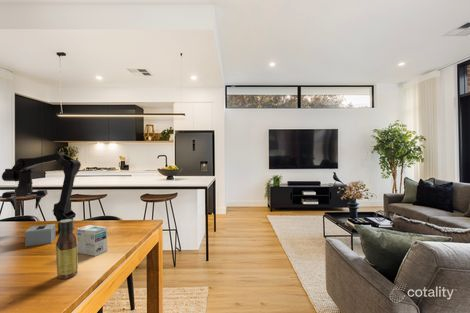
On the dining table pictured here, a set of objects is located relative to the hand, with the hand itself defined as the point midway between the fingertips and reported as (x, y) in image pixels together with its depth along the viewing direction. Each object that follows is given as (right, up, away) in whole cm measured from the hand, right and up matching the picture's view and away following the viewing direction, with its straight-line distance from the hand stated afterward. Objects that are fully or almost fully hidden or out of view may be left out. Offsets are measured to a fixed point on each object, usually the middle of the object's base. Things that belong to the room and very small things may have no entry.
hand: (26, 209), depth 143 cm
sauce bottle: (+55, -13, -51) cm, 76 cm away
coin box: (+20, -12, -16) cm, 29 cm away
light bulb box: (+52, -13, -29) cm, 61 cm away
